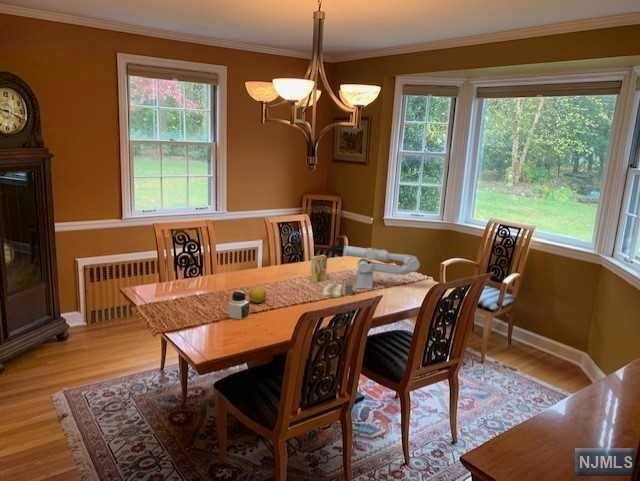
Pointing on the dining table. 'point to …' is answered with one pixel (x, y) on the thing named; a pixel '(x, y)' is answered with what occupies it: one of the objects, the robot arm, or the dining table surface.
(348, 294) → the sanding block
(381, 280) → the dining table surface
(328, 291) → the board
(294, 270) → the dining table surface
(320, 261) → the candy box
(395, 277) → the dining table surface
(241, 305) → the medicine bottle
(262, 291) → the fruit
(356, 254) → the robot arm
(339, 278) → the dining table surface
